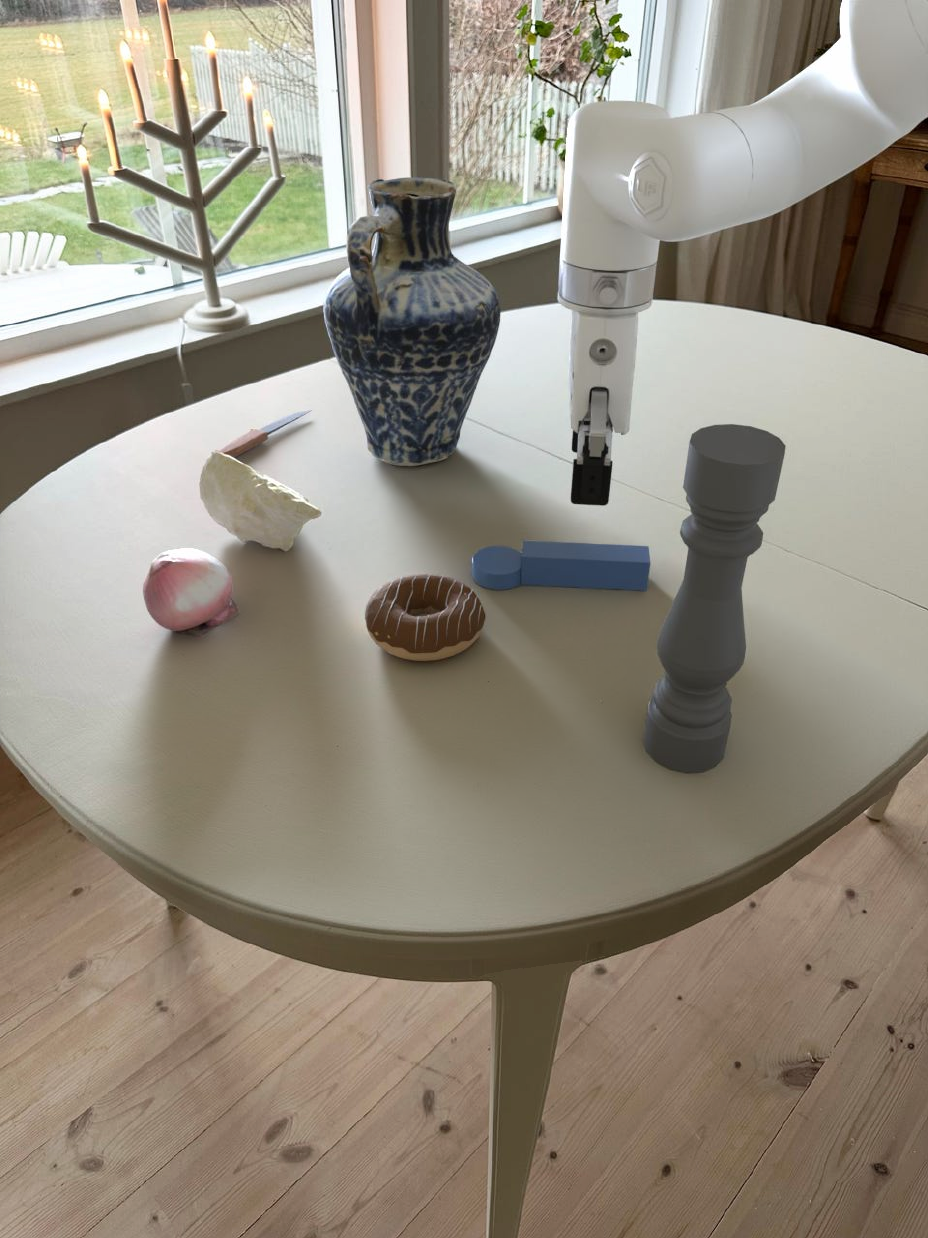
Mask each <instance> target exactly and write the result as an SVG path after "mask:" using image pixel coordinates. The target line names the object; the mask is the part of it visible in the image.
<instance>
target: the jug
mask: <svg viewBox="0 0 928 1238" xmlns="http://www.w3.org/2000/svg"><path fill="white" fill-rule="evenodd" d="M366 186H367V189H368V193H369V198H370V202H371V208H372V213H373V215H372V214H368V215H367V214H366V215H363V216H360V217H359V218H357V219H355V220H354V221H353V222H352V224H350V225H349V227H348V228H347V233H346V259H347V264H348V268H346V269H345V270H344V271H342V272H341V273H340V274H338V276H337V277H335V279H334V280H333V281H332V283H331V284H330V285H329V287H328V289H327V290H326V293H325V295H324V298H323V317H324V323H325V327H326V330H327V334H328V337H329V340H330V343H331V347H332V352H333V354H334V357H335V360H336V361H337V363H338V366H339V368H340V370H341V372H342V375H343V376H344V379H345V381H346V383H347V385H348V388H349V391H350V393H351V396H352V399H353V402H354V404H355V405H354V406H355V407H356V410H357V413H358V415H359V418H360V421H361V424H362V425H363V428H364V429H363V430H364V433H365V436H366V447H367V451H369V453H371V455H372V456H373V457H374V458H376V459H377V460H379V461H381V462H385V463H386V464H389V465H392V466H407V467H416V466H421V465H427V464H431V463H436V462H437V463H438V462H441V461H443V460H446V459H448V458H449V457H450V455H452V454H454V453H455V452H456V450H457V447H458V443H459V440H460V438H461V431H462V427H463V424H464V421H465V419H466V416H467V413H468V411H469V408H470V407H471V403H472V400H473V397H474V395H475V392H476V390H477V386H478V384H479V381H480V379H481V376H482V373H483V372H484V369H485V368H486V365H487V363H488V361H489V359H490V357H491V354H492V351H493V349H494V346H495V344H496V341H497V336H498V334H499V329H500V323H501V303H500V297H499V295H498V293H497V290H496V288H495V287H494V286H493V284H492V283H491V282H490V280H489V279H487V278H486V277H485V276H484V275H483V274H481V273H480V272H479V271H478V270H476V269H475V268H473V267H471V266H470V265H468V264H466V263H464V262H463V261H462V260H460V259H459V258H458V257H456V256H455V255H454V253H452V249H451V245H450V242H449V224H450V220H451V215H452V212H453V207H454V203H455V200H456V199H455V198H456V194H457V189H456V186H455V184H454V182H452V181H451V180H449V181H447V180H446V179H442V178H436V177H424V178H423V177H408V176H407V177H399V178H398V177H397V178H392V179H383V178H378V179H375V180H372V182H371V183H369V184H368V185H366ZM374 237H375V238H374ZM373 239H375V240H374V245H373V249H372V244H373Z"/></svg>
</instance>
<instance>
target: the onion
mask: <svg viewBox="0 0 928 1238" xmlns="http://www.w3.org/2000/svg"><path fill="white" fill-rule="evenodd" d="M232 594H233V578H232V575H231V574H230V572H229V570H228V568H227V567H226V566H225V565H224V564H223V563H222V562H221V561H220V560H218V559H217V558H215V557H214V556H213V555H212V554H209V553H207V552H205V551H203V550H199V549H197V548H196V549H195V548H189V547H183V548H179V549H172V550H167V551H164V552H162V553H160V554H159V555H157V556H156V557H155V558H154V559H153V560H152V561H151V563H150V565H149V569H148V573H146V577H145V578H144V581H143V585H142V596H143V601H144V604H145V607H146V611H147V612H148V614H149V615H150V617H151V619H153V620H154V622H155V623H156V624H158V625H159V626H160V627H162V628H164V629H167V630H169V631H174V632H176V633H178V634H185V635H190V636H195V637H200V636H202V635H204V634H205V633H207V632H209V631H212V630H214V629H215V628H217V627H218V626H220V625H222V624H224V623H226V622H228V621H231V620H232V619H233V618H235V617H236V616H239V615H240V614H241V612H240V610H239V608H238V605H237V603H236V601H235V600H233V598H232V597H231V596H232ZM230 600H231V602H230Z"/></svg>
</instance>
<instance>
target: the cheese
mask: <svg viewBox="0 0 928 1238" xmlns="http://www.w3.org/2000/svg"><path fill="white" fill-rule="evenodd" d="M214 451H215V450H214ZM212 452H213V451H212ZM212 452H211V453H212ZM198 484H199V494H200V497H199V498H200V499H201V501H202V503H203V505H204V509H205V510H206V512H207V514H208V515H209V516H210V517H211V518H212V520H213V522H214V523H215V524H217V525H218V526H221V527H222V528H225V530H226V531H227V532H228V533H230V534H231V535H232V536H234V537H236V539H238V540H239V541H240V542H242V544H244V545H245V544H248V543H249V542H250V541H253V542H256V543H258V544H260V545H261V546H262V547H264V548H270V549H273V550H274V549H275V550H276V549H280V550H282V551H283V552H287V551H290V549H291V548H292V547H293V545H294V540H295V538H296V536H298V535H299V534H300V533H301V530H302V529H303V527H304V525H305V524H307V523H308V522H309V521H311V520H315V519H318V518H319V517H321V515H322V511H321V510H320V508H318V507H316V506H315V505H313V504H311V503H309V499H307V498H306V497H304V496H303V495H302V494H301V493H298V492H297V491H295V490H294V489H293V488H291V487H289V486H287V485H284V484H283V483H281V482H280V481H277V480H275V479H274V478H272V477H270V476H268V475H266V474H264V473H261V472H260V471H257V470H255V469H254V468H253V467H252V466H250V465H248V464H246V463H243V462H241V461H239V460H238V459H236V458H235V457H231V456H229V455H226V454H223V453H221V452H217V451H215V452H213V453H212V454H210V455H209V456H208V457H207V458H206V460H205V462H204V464H203V466H202V469H201V473H200V477H199V483H198Z"/></svg>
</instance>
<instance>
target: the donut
mask: <svg viewBox="0 0 928 1238" xmlns="http://www.w3.org/2000/svg"><path fill="white" fill-rule="evenodd" d="M485 611H486V610H485V609H484V606H483V604H482V602H481V600H480V598H479V596H477V594H476V592H475V591H474V589H473V588H471V587H470V586H469V585H468V584H465V582H461V581H459V580H457V579H455V578H453V577H450V576H446V575H441V574H432V573H420V574H419V573H415V574H410V575H403V576H399V577H397V578H394V579H392V580H391V581H388V582H386V583H385V584H382V586H380V587H378V589H376V590H375V591H374V592H373V593H372V594H371V596H370V598H368V600H367V603H366V606H365V610H364V620H365V626H366V630H367V632H368V634H369V636H370V638H371V639H372V640H373V642H374V643H375V644H376V645H377V647H380V649H382V650H383V651H385V652H386V653H388V654H390V655H392V656H395V657H397V658H401V659H404V660H409V661H414V662H429V661H430V662H431V661H438V660H443V659H447V658H450V657H453V656H455V655H458V654H460V653H462V652H464V651H465V650H466V649H468V648H470V647H471V645H472V644H473V643H475V641H476V640H477V639H478V638H479V636H480V634H481V632H482V630H483V627H484V626H485V625H484V624H485V621H486V616H487V615H486V612H485Z"/></svg>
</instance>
